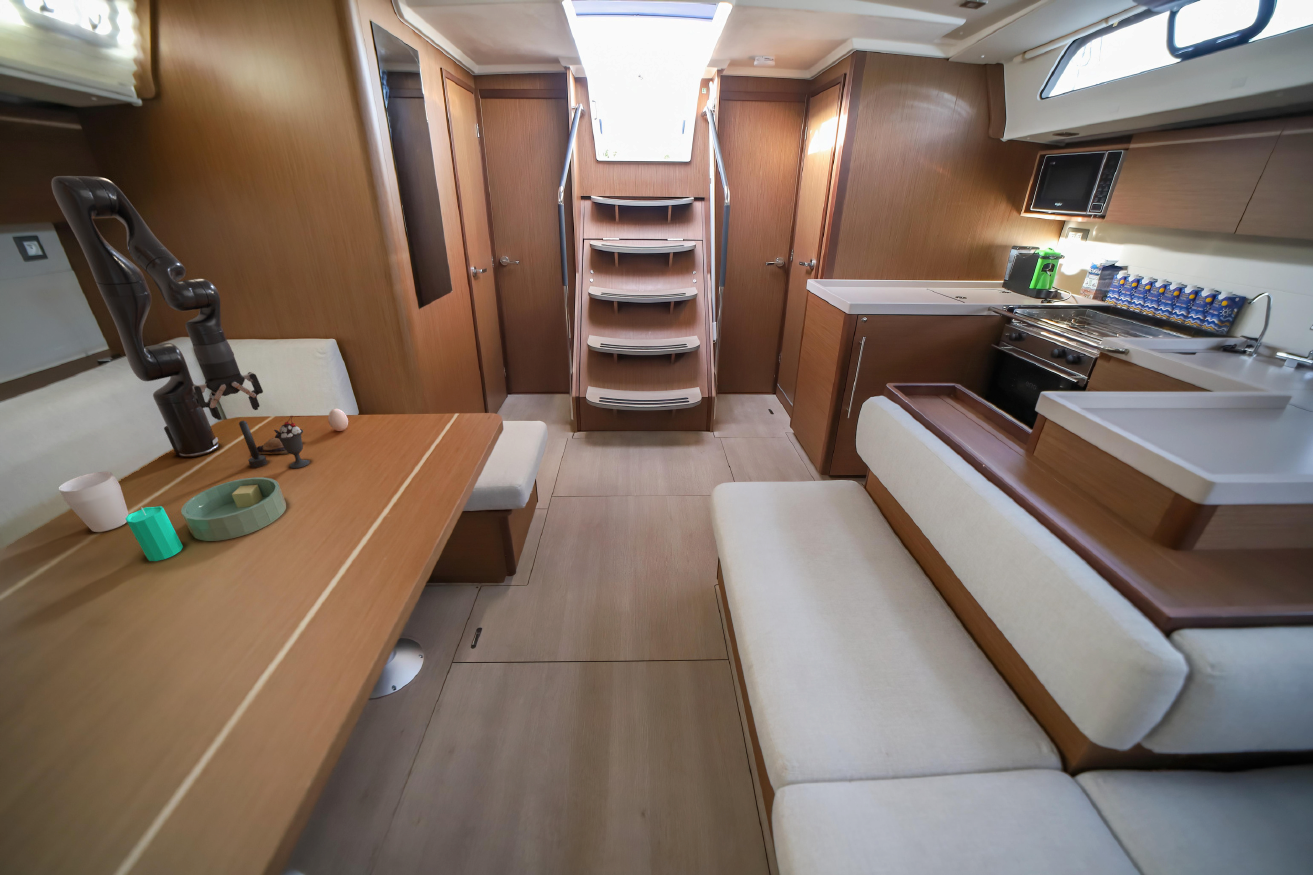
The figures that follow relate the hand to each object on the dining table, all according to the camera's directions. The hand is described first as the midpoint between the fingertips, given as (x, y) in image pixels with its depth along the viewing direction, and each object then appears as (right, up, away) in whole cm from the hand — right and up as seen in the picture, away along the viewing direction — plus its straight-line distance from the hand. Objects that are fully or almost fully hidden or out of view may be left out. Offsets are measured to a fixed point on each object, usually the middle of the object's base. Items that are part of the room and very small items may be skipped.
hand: (237, 414), depth 139 cm
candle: (+8, -32, -28) cm, 44 cm away
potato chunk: (+13, -23, -12) cm, 29 cm away
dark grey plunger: (0, -14, +7) cm, 16 cm away
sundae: (+12, -15, +8) cm, 20 cm away
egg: (+11, -4, +29) cm, 31 cm away
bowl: (+15, -26, -16) cm, 34 cm away
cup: (-14, -28, -19) cm, 37 cm away
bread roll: (-1, -10, +17) cm, 20 cm away
